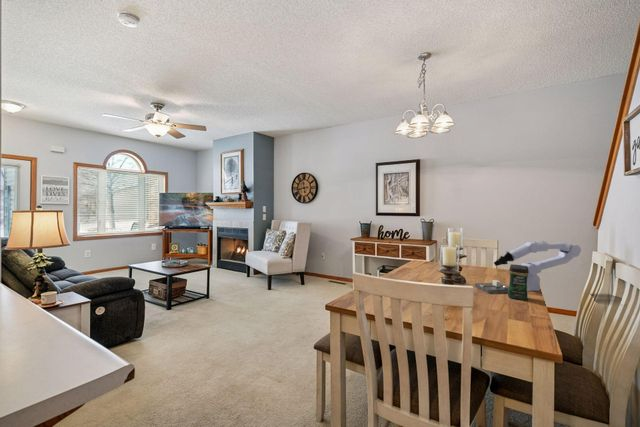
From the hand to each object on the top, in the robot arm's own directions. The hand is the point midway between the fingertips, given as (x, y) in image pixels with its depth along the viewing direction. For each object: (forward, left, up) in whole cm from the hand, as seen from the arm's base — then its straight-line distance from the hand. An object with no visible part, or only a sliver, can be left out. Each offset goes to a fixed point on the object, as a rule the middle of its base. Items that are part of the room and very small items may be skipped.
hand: (497, 262), depth 202 cm
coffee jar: (-3, +15, -17) cm, 23 cm away
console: (+1, -1, -16) cm, 16 cm away
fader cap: (0, -1, -14) cm, 14 cm away
